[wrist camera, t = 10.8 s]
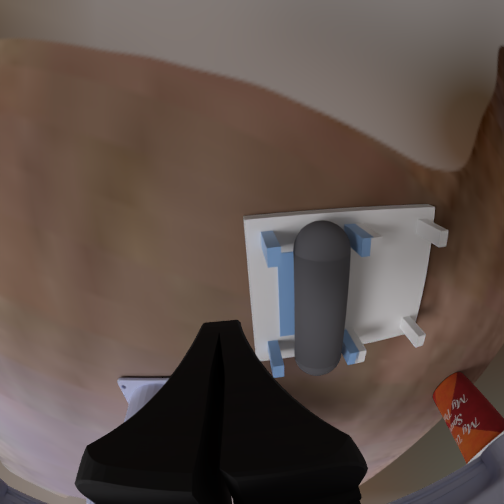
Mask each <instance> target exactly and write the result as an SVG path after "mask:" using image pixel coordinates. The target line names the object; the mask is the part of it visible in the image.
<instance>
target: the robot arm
mask: <svg viewBox="0 0 504 504" xmlns="http://www.w3.org/2000/svg"><path fill="white" fill-rule="evenodd" d="M117 382H118V385H119V387H120V388H121V390H122V392H123V394H124V396H125V398H126V400H127V402H128V403H129V406H128V409H127V413H126V417H125V420H124V423H123V424H121V425H120V426H119V427H117V428H116V429H114V430H113V431H111V432H110V433H108V434H106V435H105V436H103V437H101V438H100V439H98V440H96V441H95V442H93V443H91V444H89V445H87V447H86V449H85V451H84V454H83V456H82V459H81V463H80V466H79V470H78V473H77V477H76V481H75V485H76V487H77V489H78V490H79V491H80V492H81V493H82V494H83V495H84V496H85V497H87V502H86V504H232V499H231V496H232V498H233V503H234V504H361V503H360V499H361V494H360V490H359V487H358V486H359V484H360V483H361V481H362V479H363V478H364V476H365V475H366V473H367V470H368V467H367V464H366V461H365V459H364V457H363V455H362V454H361V452H360V450H359V449H358V447H357V445H356V444H355V443H354V441H353V440H352V438H351V437H350V436H349V435H348V434H346V433H344V432H342V431H340V430H338V429H337V428H335V427H333V426H331V425H330V424H328V423H327V422H325V421H323V420H322V419H320V418H319V417H318V416H316V415H315V414H313V413H312V412H310V411H309V410H308V409H307V408H305V407H304V406H303V405H302V404H300V403H299V402H298V401H297V400H296V399H294V398H293V397H292V396H291V395H290V394H289V393H288V392H287V391H286V390H285V389H284V388H282V386H281V385H280V384H279V383H278V382H277V381H276V380H275V379H274V378H273V377H272V376H271V374H270V373H269V372H268V371H267V369H266V368H265V367H264V366H263V364H262V363H261V362H260V360H259V359H258V357H257V356H256V354H255V353H254V351H253V349H252V348H251V346H250V344H249V343H248V341H247V339H246V337H245V335H244V332H243V330H242V327H241V322H239V321H238V320H230V321H219V322H208V323H204V324H203V325H202V326H201V328H200V330H199V332H198V334H197V336H196V338H195V340H194V342H193V343H192V345H191V347H190V349H189V350H188V352H187V353H186V355H185V357H184V358H183V360H182V361H181V363H180V364H179V366H178V367H177V368H176V370H175V371H174V373H173V374H172V375H171V377H170V378H119V379H118V381H117ZM0 504H47V503H45V502H42V501H40V500H38V499H35V498H33V497H31V496H28V495H26V494H24V493H22V492H20V491H18V490H16V489H14V488H12V487H10V486H8V485H7V484H6V483H5V482H4V481H3V480H1V479H0ZM387 504H504V434H503V435H501V436H500V437H498V438H497V439H496V440H495V441H493V442H492V443H491V444H490V445H489V446H488V447H487V448H486V449H485V450H484V451H483V452H482V454H481V456H479V457H478V458H476V459H474V460H473V461H471V462H470V463H468V464H467V465H465V466H463V467H462V468H460V469H458V470H456V471H455V472H453V473H451V474H449V475H448V476H446V477H444V478H442V479H440V480H438V481H436V482H434V483H433V484H431V485H429V486H426V487H424V488H422V489H420V490H418V491H416V492H414V493H412V494H409V495H407V496H405V497H402V498H400V499H397V500H395V501H393V502H390V503H387Z"/></svg>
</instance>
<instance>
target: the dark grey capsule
mask: <svg viewBox="0 0 504 504" xmlns="http://www.w3.org/2000/svg"><path fill="white" fill-rule="evenodd" d="M293 258H294V322H295V343H294V354H295V360H296V363H297V365H298V366H299V367H300V369H301V370H302V371H304V372H305V373H307V374H310V375H315V376H320V375H324V374H327V373H329V372H331V371H332V370H333V369H334V368H335V367H336V366H337V364H338V363H339V361H340V358H341V353H342V345H343V337H344V329H345V320H346V310H347V300H348V288H349V275H350V258H351V246H350V241H349V238H348V236H347V234H346V233H345V231H344V230H343V229H342V228H341V227H340V226H338V225H337V224H335V223H333V222H330V221H324V220H320V221H314V222H311V223H309V224H307V225H306V226H305V227H303V228H302V229H301V230H300V231H299V233H298V235H297V236H296V238H295V242H294V247H293Z"/></svg>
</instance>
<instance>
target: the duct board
mask: <svg viewBox="0 0 504 504" xmlns="http://www.w3.org/2000/svg"><path fill="white" fill-rule="evenodd" d="M434 215H435V207H434V206H432V205H429V204H414V205H390V206H370V207H353V208H337V209H322V210H308V211H295V212H283V213H271V214H260V215H249V216H243V219H244V231H245V242H246V254H247V265H248V276H249V288H250V299H251V310H252V321H253V332H254V343H255V354H256V356H257V357H258V359H259V360H260V361H266V360H270V364H271V369H272V374H273V378H277V377H284V363H283V359H282V358H288V357H295V354H294V343H295V322H294V258H293V247H294V242H295V238H296V236H297V235H298V233H299V231H300V230H301V229H302V228H303V227H305V226H306V225H307V224H309V223H311V222H314V221H320V220H324V221H330V222H333V223H335V224H337V225H338V226H340V227H341V228H342V229H343V230H344V231H345V233H346V234H347V236H348V238H349V241H350V246H351V258H350V275H349V288H348V300H347V310H346V320H345V329H344V337H343V345H342V354H343V356H344V358H345V360H346V362H347V364H348V365H351V364H355V363H359V362H364V360H365V355H366V349H365V347H364V345H363V344H366V343H370V342H375V341H379V340H383V339H387V338H391V337H395V336H399V335H403V334H405V335H406V336H407V338H408V339H409V340H410V341H411V343H412V344H413V345H414V346H415V348H416V347H419V346H422V345H423V343H424V340H425V336H426V334H425V333H424V332H423V330H422V329H421V328H420V327H419V326H418V325H417V324H416V319H417V315H418V311H419V307H420V302H421V298H422V293H423V288H424V283H425V278H426V273H427V267H428V261H429V255H430V248H431V243H432V244H434V245H436V246H437V247H445V246H446V244H447V238H448V230H447V229H445V228H443V227H441V226H439V225H437V224H435V223H434Z"/></svg>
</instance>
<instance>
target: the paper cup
mask: <svg viewBox="0 0 504 504" xmlns="http://www.w3.org/2000/svg"><path fill="white" fill-rule="evenodd" d="M433 399H434V401H435V403H436V405H437V407H438V409H439V411H440V413H441V415H442V416H443V418H444V420H445V422H446V424H447V426H448V428H449V429H450V431H451V433H452V435H453V437H454V439H455V441H456V443H457V445H458V447H459V449H460V451H461V453H462V455H463V457H464V459H465V461H466V463H467V464H468V463H470V462H471V461H473V460H474V459H476V458H478V457H479V456H481V454H482V452H483V451H484V450H485V449H486V448H487V447H488V446H489V445H490V444H491V443H492V442H493V441H495V440H496V439H497V438H498V437H500V436H501V435H503V434H504V418H503V417H502V416H501V415H500V414H499V413H498V411H497V410H496V409H495V408H494V407H493V406H492V405H491V403H490V402H489V401H488V400H487V399H486V398H485V397H484V396H483V395H482V393H481V392H480V391H479V390H478V389H477V388H476V387H475V386H474V385H473V384H472V382H471V381H470V380H469V379H468V378H467V377H466V376H465V375H464V374H463V373H461V372H456V373H454V374H452V375H450V376H449V377H447V378H446V379H445V380H444V381H443V382H442V383H441V384H440V385H439V386H438V387H437V388H436V390H435V392H434V394H433Z"/></svg>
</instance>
